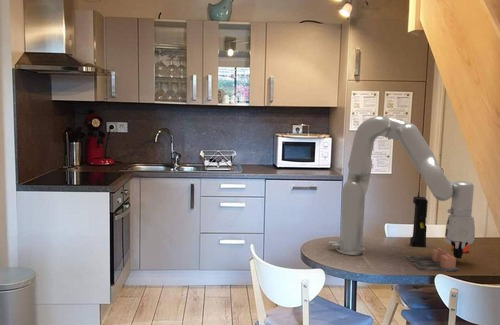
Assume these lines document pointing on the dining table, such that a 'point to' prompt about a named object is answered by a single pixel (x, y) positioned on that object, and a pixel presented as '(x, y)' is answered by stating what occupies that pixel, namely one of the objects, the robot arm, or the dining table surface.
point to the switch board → (429, 264)
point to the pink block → (447, 261)
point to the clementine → (464, 248)
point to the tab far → (438, 254)
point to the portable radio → (419, 222)
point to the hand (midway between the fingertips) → (457, 257)
